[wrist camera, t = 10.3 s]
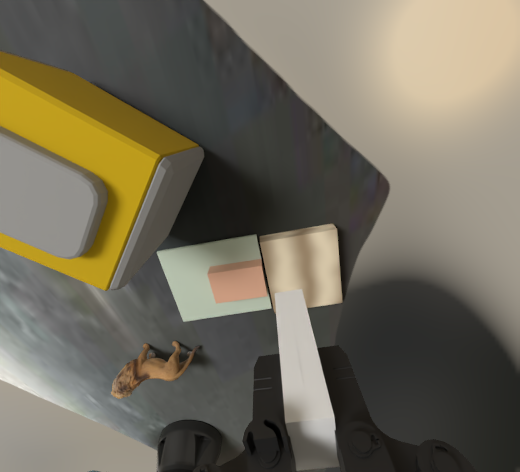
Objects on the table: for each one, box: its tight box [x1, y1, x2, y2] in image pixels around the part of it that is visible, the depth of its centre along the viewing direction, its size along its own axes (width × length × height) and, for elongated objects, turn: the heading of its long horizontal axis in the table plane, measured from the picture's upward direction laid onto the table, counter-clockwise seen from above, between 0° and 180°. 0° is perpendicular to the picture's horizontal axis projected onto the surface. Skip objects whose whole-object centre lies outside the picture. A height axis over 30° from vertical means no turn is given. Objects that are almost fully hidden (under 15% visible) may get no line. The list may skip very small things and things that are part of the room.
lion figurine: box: [111, 341, 199, 399], centre depth 47 cm, size 15×5×9 cm, turn 102°
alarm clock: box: [0, 50, 204, 291], centre depth 29 cm, size 20×16×18 cm
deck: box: [260, 224, 342, 313], centre depth 43 cm, size 12×14×2 cm
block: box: [207, 259, 267, 304], centre depth 43 cm, size 9×6×2 cm, turn 100°
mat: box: [157, 234, 272, 322], centre depth 45 cm, size 17×15×1 cm
